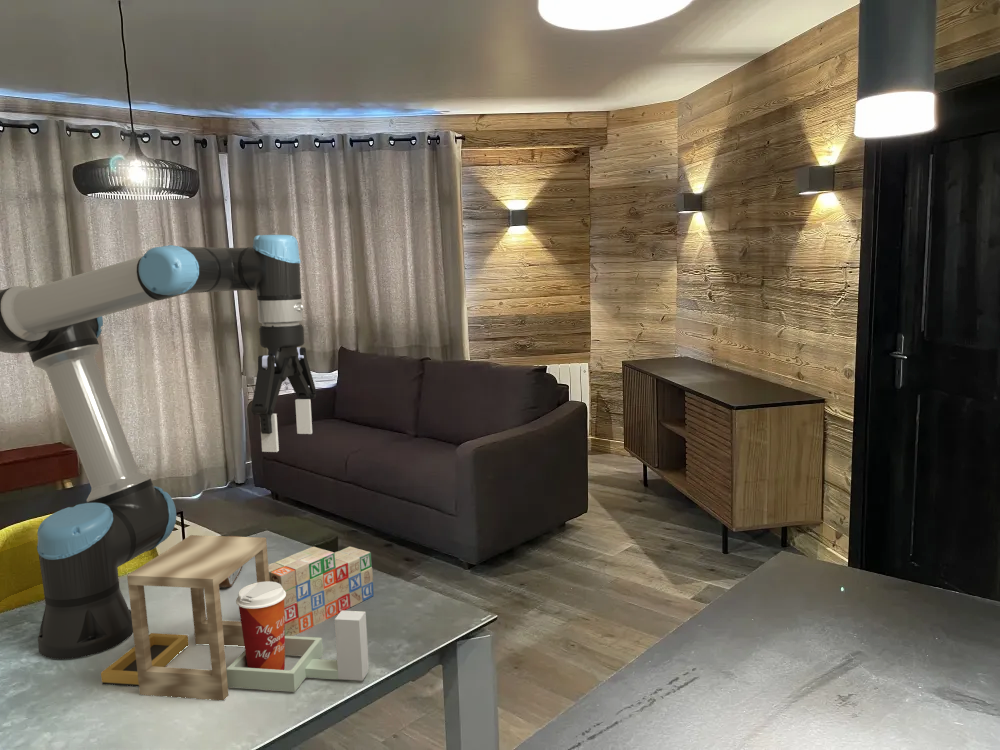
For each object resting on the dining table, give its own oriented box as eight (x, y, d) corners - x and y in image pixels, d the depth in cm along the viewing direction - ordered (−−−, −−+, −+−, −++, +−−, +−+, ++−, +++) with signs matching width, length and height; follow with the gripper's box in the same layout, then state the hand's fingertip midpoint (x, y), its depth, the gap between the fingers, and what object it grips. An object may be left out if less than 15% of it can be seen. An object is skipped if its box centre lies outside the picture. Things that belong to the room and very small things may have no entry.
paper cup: (268, 688, 116) (262, 603, 114) (231, 678, 119) (224, 595, 117) (301, 663, 123) (296, 583, 121) (266, 654, 126) (260, 576, 124)
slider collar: (227, 687, 116) (222, 626, 114) (261, 650, 127) (256, 594, 125) (353, 695, 113) (349, 633, 111) (377, 657, 123) (373, 600, 122)
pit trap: (102, 684, 118) (100, 672, 118) (152, 643, 131) (151, 633, 131) (142, 687, 117) (140, 675, 117) (188, 645, 130) (187, 635, 130)
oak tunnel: (139, 694, 115) (127, 575, 112) (200, 640, 132) (190, 535, 129) (223, 700, 113) (212, 579, 110) (274, 644, 129) (266, 537, 127)
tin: (232, 566, 165) (229, 529, 164) (247, 565, 166) (244, 528, 164) (214, 595, 150) (211, 555, 149) (230, 594, 151) (227, 554, 149)
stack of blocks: (353, 589, 152) (349, 531, 150) (374, 596, 148) (371, 537, 146) (263, 631, 135) (258, 567, 133) (285, 641, 131) (280, 574, 129)
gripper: (266, 330, 118) (275, 460, 121) (329, 318, 142) (335, 427, 145) (223, 330, 119) (232, 459, 122) (293, 318, 143) (299, 426, 146)
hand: (288, 442), depth 134 cm, fingers open, 13 cm apart
